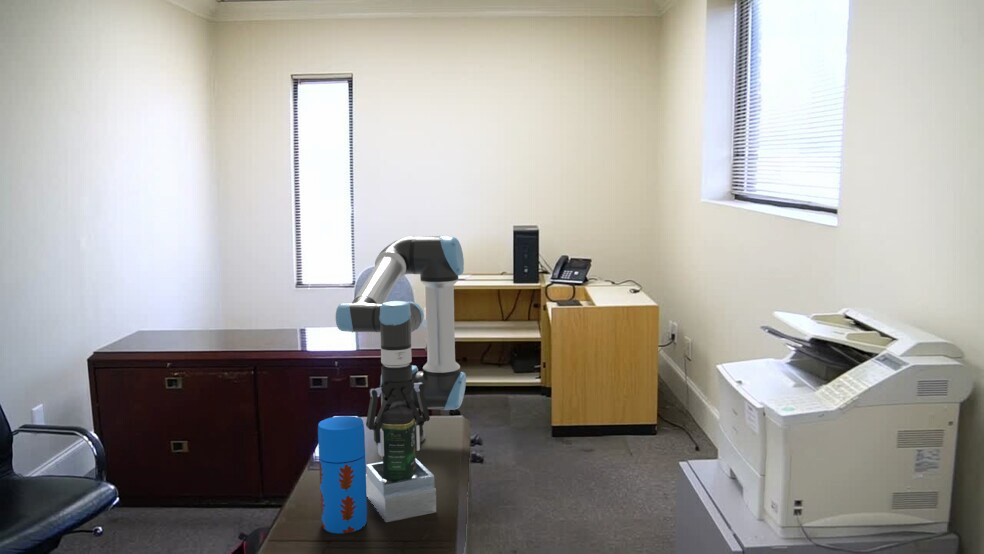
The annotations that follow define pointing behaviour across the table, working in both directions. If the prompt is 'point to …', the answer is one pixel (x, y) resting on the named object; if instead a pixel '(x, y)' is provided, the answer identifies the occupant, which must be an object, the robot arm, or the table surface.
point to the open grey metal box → (401, 493)
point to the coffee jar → (399, 442)
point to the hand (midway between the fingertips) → (399, 451)
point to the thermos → (342, 474)
